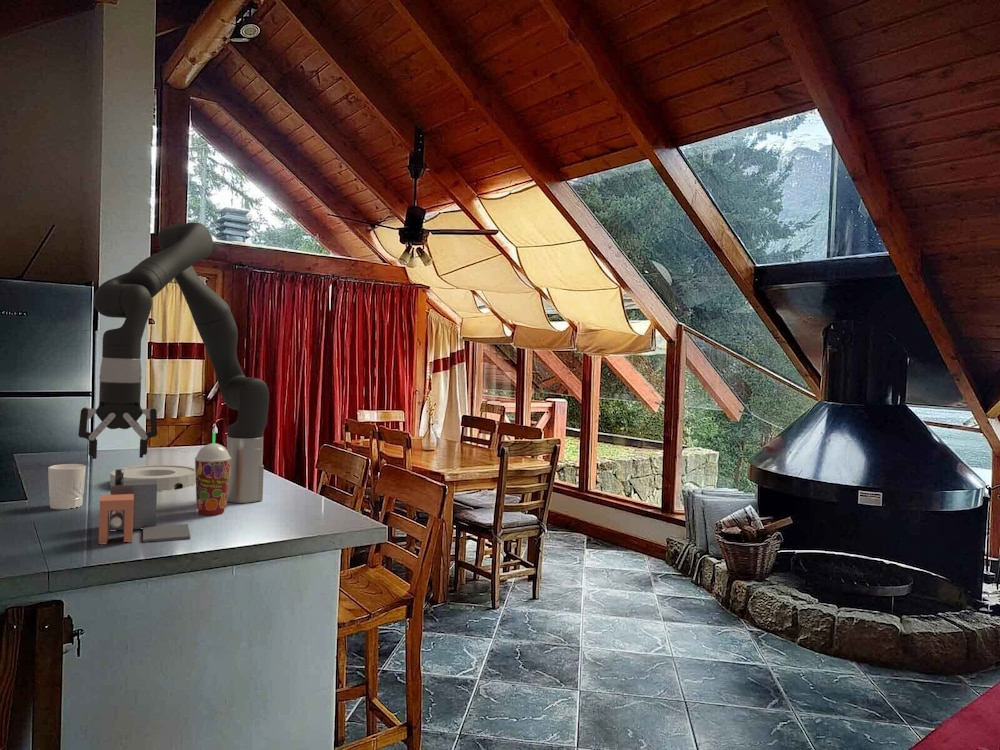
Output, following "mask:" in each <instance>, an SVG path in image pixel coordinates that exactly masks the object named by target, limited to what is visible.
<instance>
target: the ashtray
mask: <svg viewBox="0 0 1000 750" xmlns="http://www.w3.org/2000/svg"><path fill="white" fill-rule="evenodd" d="M117 469H118V468H117ZM117 469H114V470H112V471H110V478H109V479H110V481H109V484H110V485H111V484H112V481H115V471H116V470H117ZM120 469H123V470H124V478H123V481H128V480H155V479H157V492H159V491H158V490H168V491H173V490H172V489H174V490H175V489H176V488H177V487H179V486H180V485H181V484H182V489H186V488H185V487H188V488H190V487H189V486H191V487H194V486H196V485H195V484H196V473H195V466H194V467H192V466H189V465H178V464H149V465H147V464H146V465H133V466H126V467H121V468H120ZM179 484H180V485H179ZM110 485H109V486H110ZM178 485H179V486H178ZM193 485H194V486H193Z"/></svg>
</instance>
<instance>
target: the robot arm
mask: <svg viewBox="0 0 1000 750" xmlns="http://www.w3.org/2000/svg"><path fill="white" fill-rule="evenodd" d="M157 238H158V245H159V248H160V251H159V252H157V253H155V254H152V255H150V256H149V257H146V258H145V259H143V260H142V261H140V262H139V263H138V264H137V265H135V266H134V267H133V268H132V269H130V271H128V272H125V273H122V274H119V275H117V276H115V277H112V278H111V279H108V280H106V281H105V282H103V283H102V284H100V285H99V287H97V289H96V291H95V293H94V295H93V305H94V308H95V310H96V311H97V312H98V313H99V314H100V315H102V316H104V317H108V318H115V319H116V318H120V319H122V318H124V319H125V320H124V322H123V324H122V325H121V326H120V327H118V328H112V329H107V330H105V332H104V333H103V336H102V343H101V344H102V352H101V355H102V356H101V357H102V358H101V361H100V362H101V363H100V368H99V378H98V379H99V394H98V395H99V398H98V407H97V408H88V407H86V406H85V407H82V408H81V409H80V414H79V415H80V417H79V425H78V437H79V438H81V439H82V438H83V439H86V440H87V441H88V456H89V457H91V458H92V460H94V459H97V457H98V439H97V438H98V437H99V436H100V434H101V433H102V432H103V431H104V430H105V429H106V428H108V429H110V430H116V429H121V430H128V429H130V428H132V429H133V430H134V432H135V433H136V434H137V435H138V437H140V439H139V455H138V456H139V458H141V459H142V458H144V456H147V453H148V440H149V439H151V438H154V437H157V435H158V419H157V412H158V411H157V409H156V408H155V407H151V408H142V406H141V393H142V391H141V390H142V363H141V362H142V361H141V356H142V355H141V354H142V353H141V352H142V339H143V336H144V331H145V329H146V325H147V323H148V320H149V317H150V314H151V310H152V308H153V307H152V306H153V298H154V297H155V296H157V295H159V293H160V292H161V291H162V290H163V289H164V288H165V287H166V286H167V285H168V284H169V283H170V282H171V281H173V280H174V279H175V280H176V282H177V284H178V286H179V289H180V291H181V293H182V295H183V297H184V300H185V301H186V305H188V306H187V307H188V309H189V311H190V314H191V316H192V319H193V322H194V324H195V327H196V329H197V331H198V334H199V337H200V338H201V340H202V342H203V345H204V348H205V350H206V352H207V354H208V358H209V360H210V362H211V365H212V368H213V371H214V373H215V376H216V380H217V385H218V387H219V391H220V394H221V397H222V399H223V402H224V403H225V405H226V406H227V407H228V408H229V409H232V410H235V411H238V413H237V419H236V421H235V422H234V423H231V424H230V425H228V427H227V430H226V431H227V433H226V435H227V436H226V449H227V451H228V453H229V455H230V457H231V465H230V475H229V485H228V495H227V502H228V503H236V504H243V503H244V504H247V503H253V502H254V503H255V502H259V501H261V502H262V501H263V499H264V498H263V497H264V473H265V471H264V469H265V466H264V464H263V456H264V431H265V430H266V428H267V424H268V416H269V415H268V414H269V408H270V407H269V404H270V391H269V387H268V385H267V383H266V382H265V381H264V380H262V378H257V377H249V376H248V377H247V376H246V375H245V374H244V373H245V372H243V369H242V367H241V365H240V363H239V359H238V355H237V351H238V349H237V348H238V339H239V338H238V337H239V335H238V334H239V331H238V325H237V323H236V321H235V317H234V316H233V313H232V311H231V308H230V306H229V304H228V303H227V302H226V301H225V300H224V299H223V298H222V297H221V296H220V295H219V294H217V292H215V291H214V290H213V289H212V288H211V287H209V286H208V285H207V284H206V283H204V281H203V280H202V279H201V278H200V276H199V275H198V273H196V270H195V269H194V267H193V266H194V265H195V264H197V263H198V262H201V261H203V260H205V259H206V258H208V257H209V256H210V255H211V254H212V252H213V249H214V240H213V236H212V234H211V232H210V230H209V228H208V227H206V225H204V224H203V223H200V222H197V221H196V222H195V221H194V222H192V221H191V222H185V223H181V224H177V225H171V226H166V227H163V228H162V229H161V230H160V231H159V233H158V237H157ZM95 414H96V417H98V419H100V421H101V422H100V423H99V424H97V426H96V428H95V429H93V431H92V432H89V431H87V429H88V421H89V420H90V419H92V418H93V415H95ZM142 415H145V418H147V420H150V422H149V423H150V431H145V430H144V429H143V427H142V426H141V425H140V424H139V422H138V420H139V419H140V418H141V416H142Z"/></svg>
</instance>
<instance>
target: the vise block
mask: <svg viewBox="0 0 1000 750" xmlns="http://www.w3.org/2000/svg"><path fill="white" fill-rule="evenodd" d="M115 470H116V469H115ZM123 478H124V470H123V469H121V468H117V470H116V471H115V481H112V484H111V486H110V495H121V494H134V505H133V529H141V528H143V527H149V526H157V505H158V504H157V502H158V501H157V499H158V497H157V496H158V491H157V479H155V480H128V481H123ZM124 520H125V510H110V511H109V531H110V530H124Z"/></svg>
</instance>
